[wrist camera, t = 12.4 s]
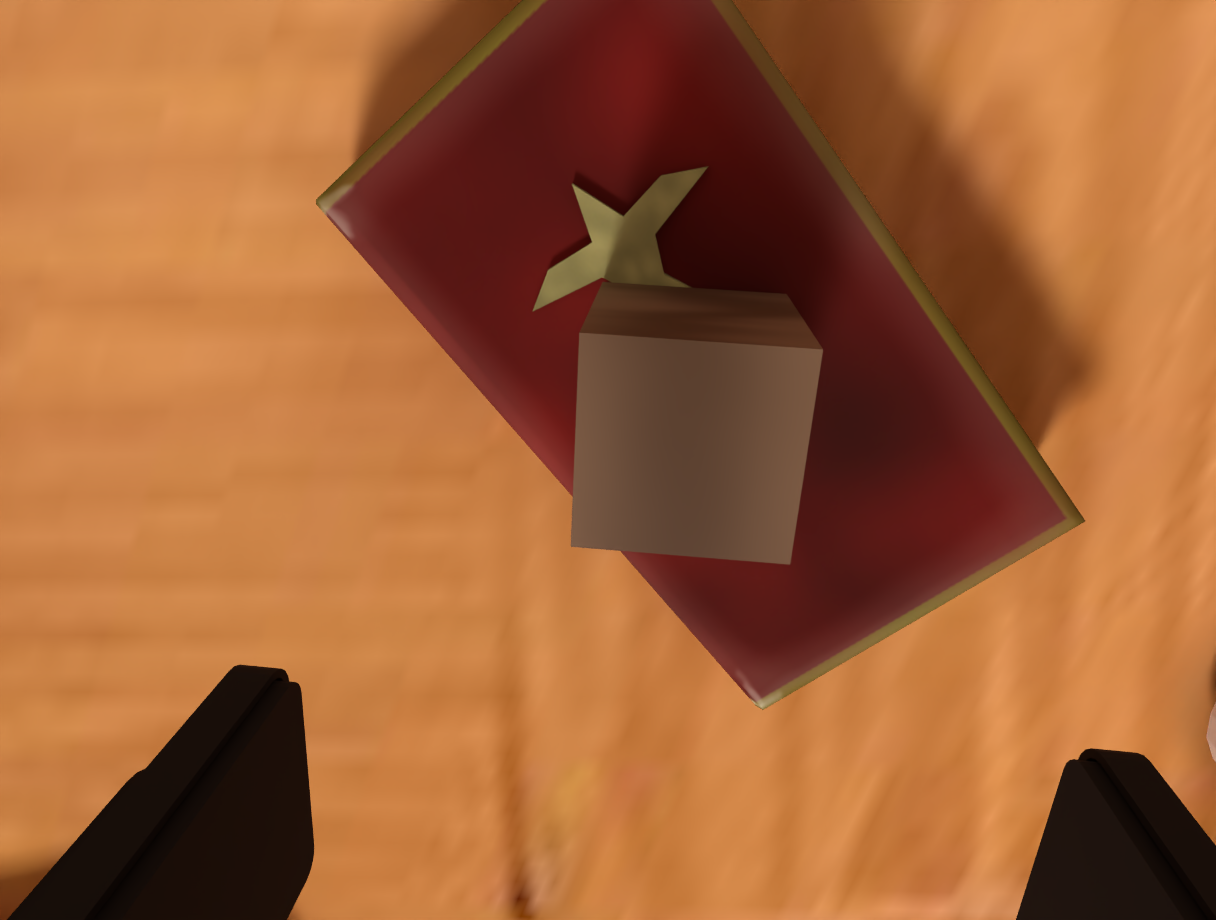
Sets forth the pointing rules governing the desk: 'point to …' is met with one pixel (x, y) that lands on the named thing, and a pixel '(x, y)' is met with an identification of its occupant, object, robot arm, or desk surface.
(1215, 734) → the cup
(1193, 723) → the desk surface
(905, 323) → the hardcover book
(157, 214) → the desk surface
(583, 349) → the walnut block
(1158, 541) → the desk surface
